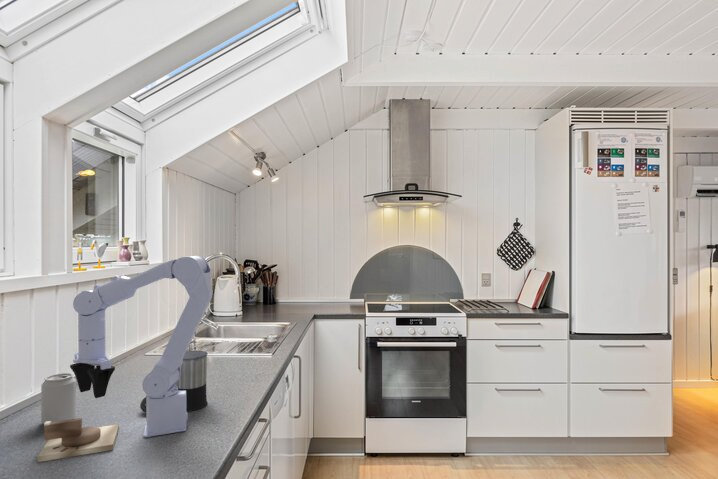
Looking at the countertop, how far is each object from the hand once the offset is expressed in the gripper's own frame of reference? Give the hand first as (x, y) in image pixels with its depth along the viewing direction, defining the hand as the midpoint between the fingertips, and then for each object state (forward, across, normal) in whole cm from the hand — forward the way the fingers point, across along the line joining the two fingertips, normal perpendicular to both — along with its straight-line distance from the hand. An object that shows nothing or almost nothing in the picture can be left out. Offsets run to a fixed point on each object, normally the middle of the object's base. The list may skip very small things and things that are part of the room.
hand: (92, 393), depth 107 cm
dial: (+8, +4, -6) cm, 11 cm away
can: (+10, -14, -2) cm, 17 cm away
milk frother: (+10, +2, +21) cm, 23 cm away
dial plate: (+9, +5, -4) cm, 12 cm away
